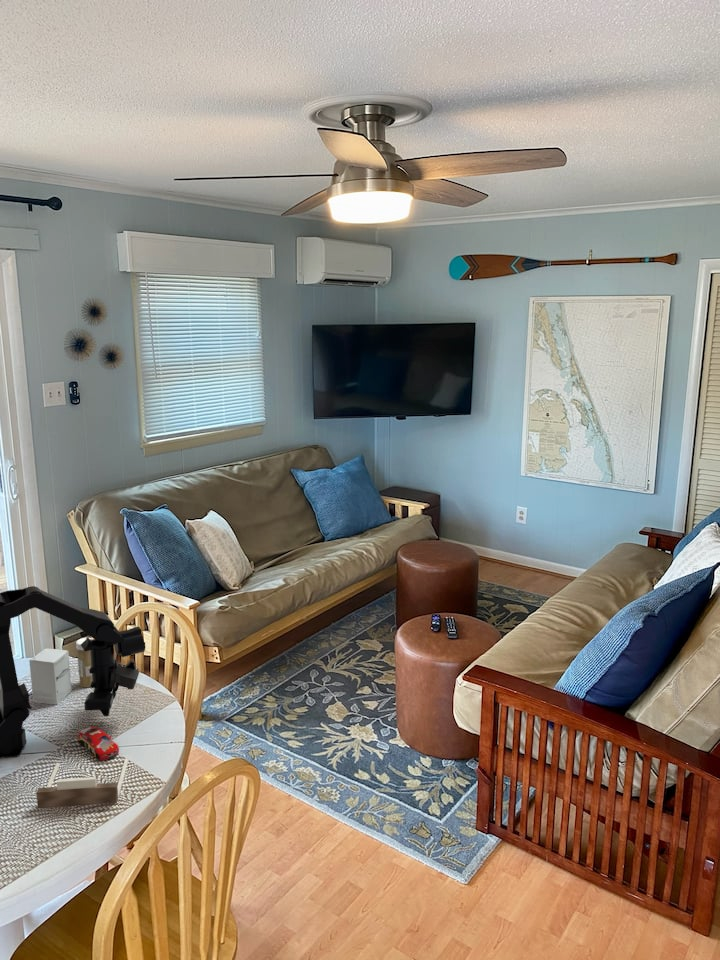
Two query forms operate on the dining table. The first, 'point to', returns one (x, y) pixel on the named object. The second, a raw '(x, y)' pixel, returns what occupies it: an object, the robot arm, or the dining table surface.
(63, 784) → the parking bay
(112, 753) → the race car
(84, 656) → the sprinkles bottle
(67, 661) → the supplement box
